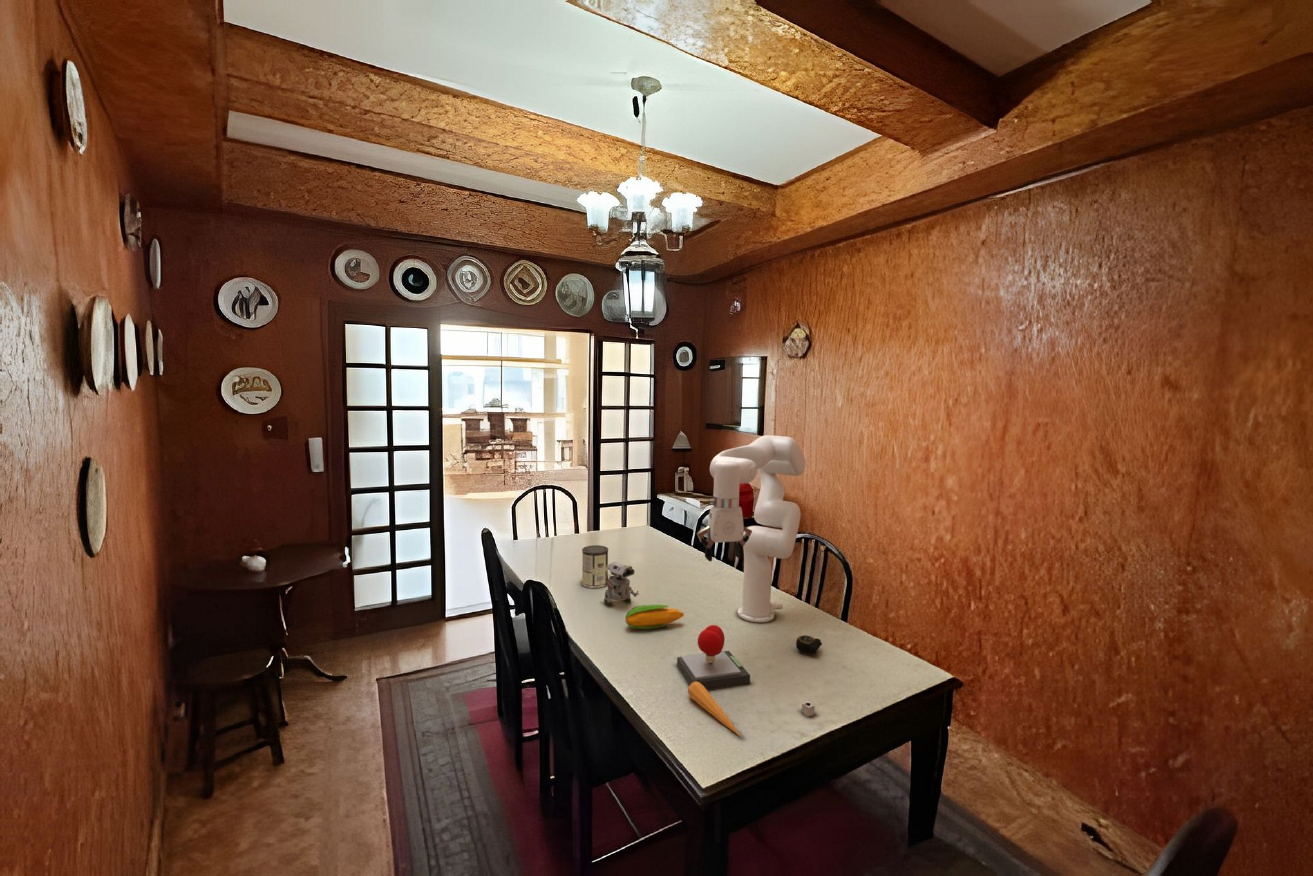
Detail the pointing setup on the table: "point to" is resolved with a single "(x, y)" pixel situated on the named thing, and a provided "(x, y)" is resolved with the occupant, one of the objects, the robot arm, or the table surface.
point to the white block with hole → (808, 708)
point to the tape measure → (808, 644)
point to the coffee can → (594, 566)
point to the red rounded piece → (711, 642)
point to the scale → (713, 670)
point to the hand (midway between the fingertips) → (723, 558)
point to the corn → (651, 616)
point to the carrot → (709, 704)
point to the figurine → (618, 583)
